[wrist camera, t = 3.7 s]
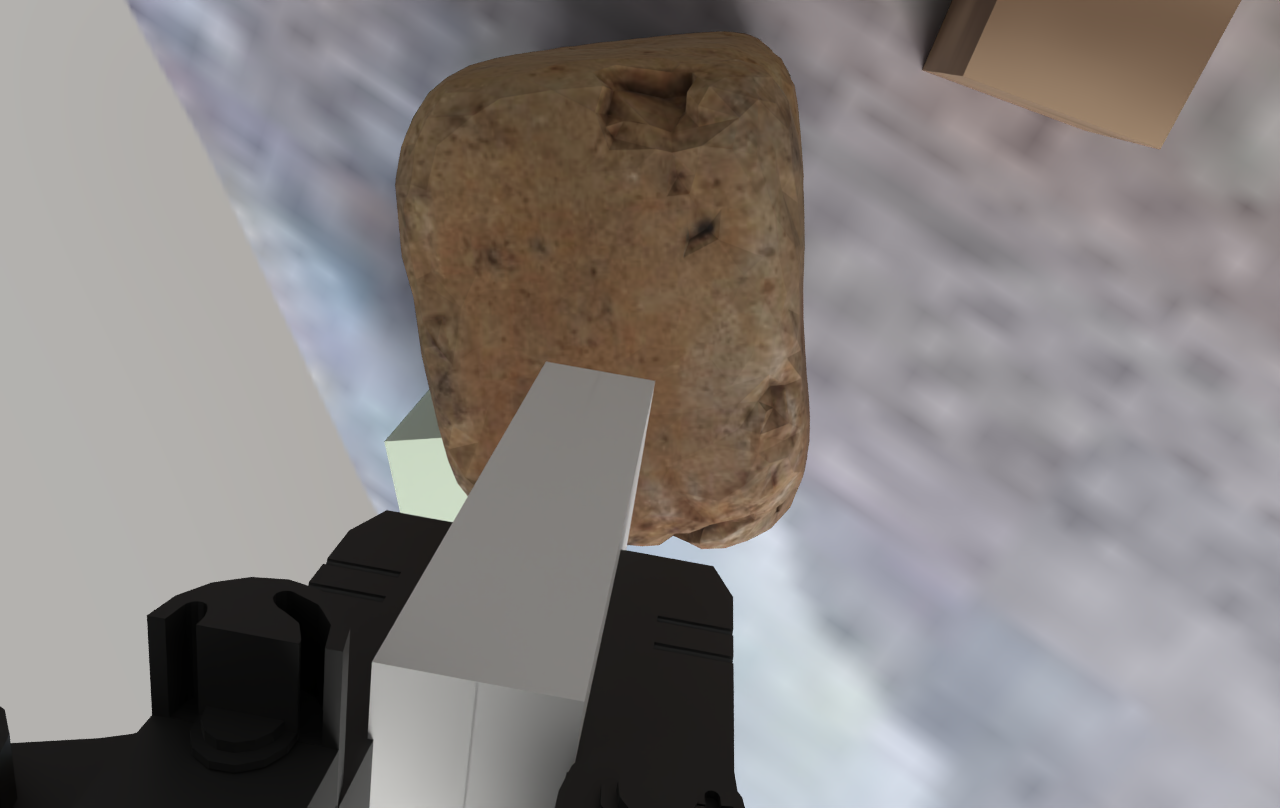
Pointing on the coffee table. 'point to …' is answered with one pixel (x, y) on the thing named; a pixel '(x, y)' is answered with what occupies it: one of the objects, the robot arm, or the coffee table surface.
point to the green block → (423, 466)
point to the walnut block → (1084, 58)
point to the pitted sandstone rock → (621, 261)
